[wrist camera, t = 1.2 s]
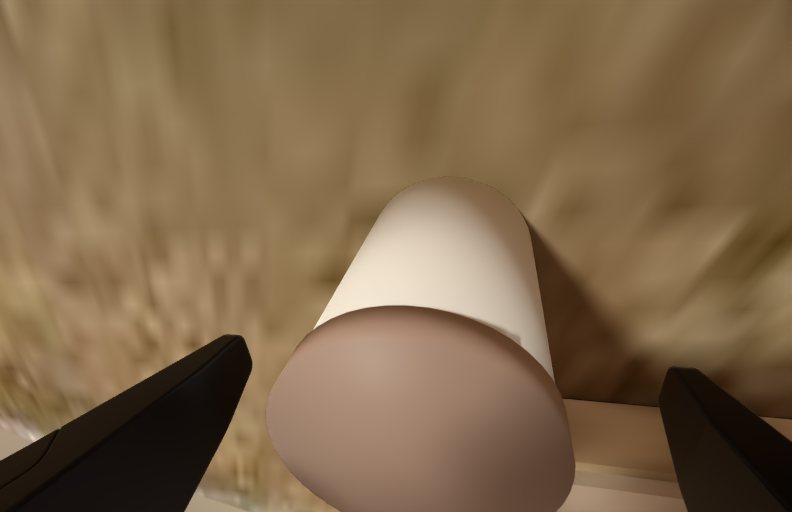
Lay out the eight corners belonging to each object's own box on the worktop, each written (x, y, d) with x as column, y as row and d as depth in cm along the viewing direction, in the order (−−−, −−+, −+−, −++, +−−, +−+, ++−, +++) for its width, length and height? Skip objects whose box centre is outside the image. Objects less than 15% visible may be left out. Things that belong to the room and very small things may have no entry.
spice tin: (542, 171, 11) (599, 353, 5) (529, 322, 14) (557, 563, 8) (359, 175, 12) (229, 328, 6) (379, 314, 15) (300, 518, 9)
